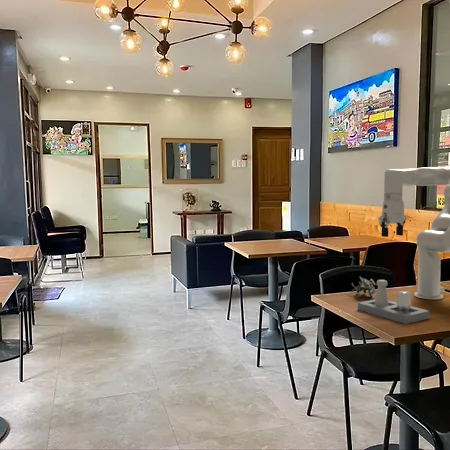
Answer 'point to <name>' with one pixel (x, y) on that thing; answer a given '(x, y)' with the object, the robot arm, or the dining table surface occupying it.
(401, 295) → the steel pin
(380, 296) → the salt shaker
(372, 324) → the dining table surface
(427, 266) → the robot arm
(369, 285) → the toy creature figurine
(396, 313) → the hole plate
